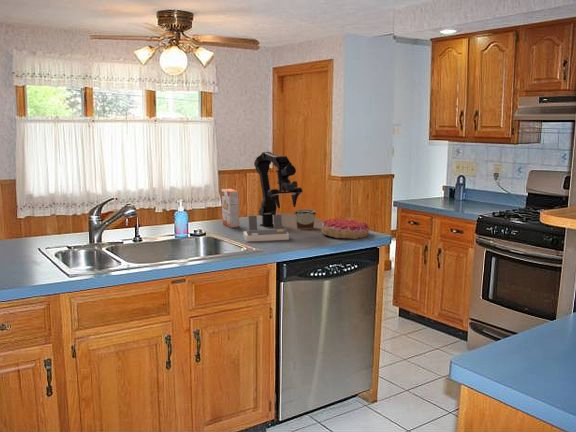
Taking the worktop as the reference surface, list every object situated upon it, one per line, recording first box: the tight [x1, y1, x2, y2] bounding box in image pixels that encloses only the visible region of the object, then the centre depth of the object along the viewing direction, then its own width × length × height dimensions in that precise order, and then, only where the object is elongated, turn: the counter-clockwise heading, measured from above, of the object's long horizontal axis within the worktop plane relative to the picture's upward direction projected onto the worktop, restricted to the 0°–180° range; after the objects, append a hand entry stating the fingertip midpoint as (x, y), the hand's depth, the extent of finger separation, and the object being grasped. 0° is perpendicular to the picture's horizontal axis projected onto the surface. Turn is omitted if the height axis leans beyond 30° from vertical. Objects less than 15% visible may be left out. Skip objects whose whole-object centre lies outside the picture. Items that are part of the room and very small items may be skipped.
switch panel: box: [242, 227, 290, 242], centre depth 281 cm, size 11×22×6 cm, turn 102°
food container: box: [294, 209, 317, 230], centre depth 310 cm, size 12×6×10 cm, turn 84°
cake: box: [321, 217, 370, 240], centre depth 290 cm, size 25×25×8 cm
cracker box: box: [221, 188, 240, 229], centre depth 315 cm, size 14×6×21 cm, turn 25°
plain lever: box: [248, 215, 258, 230], centre depth 281 cm, size 2×4×8 cm, turn 101°
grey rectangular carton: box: [273, 214, 283, 229], centre depth 283 cm, size 2×4×8 cm, turn 101°
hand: (287, 207), depth 292 cm, fingers open, 9 cm apart
